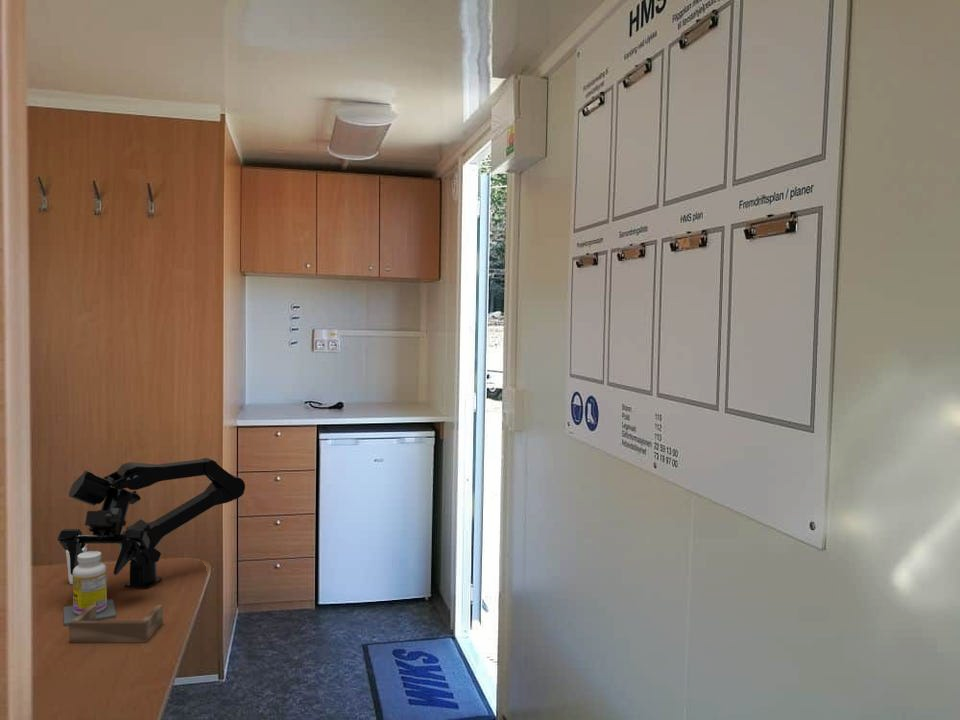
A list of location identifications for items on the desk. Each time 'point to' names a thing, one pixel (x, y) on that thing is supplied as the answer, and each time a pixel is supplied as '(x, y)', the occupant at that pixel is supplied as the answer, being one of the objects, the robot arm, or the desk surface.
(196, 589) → the desk surface
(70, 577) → the milkshake
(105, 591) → the supplement bottle
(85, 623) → the frame
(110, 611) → the charcoal mat
